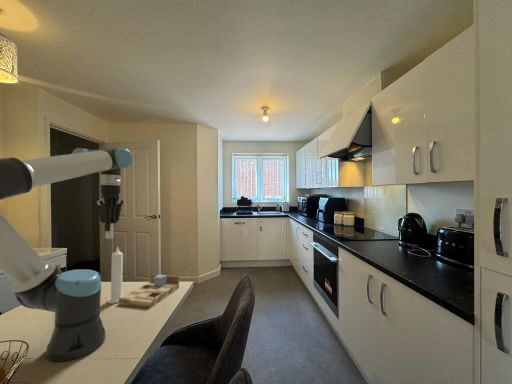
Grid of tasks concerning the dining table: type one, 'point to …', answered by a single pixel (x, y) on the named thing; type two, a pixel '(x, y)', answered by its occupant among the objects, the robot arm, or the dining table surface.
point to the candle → (116, 277)
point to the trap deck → (150, 293)
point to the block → (160, 280)
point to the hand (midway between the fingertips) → (109, 238)
